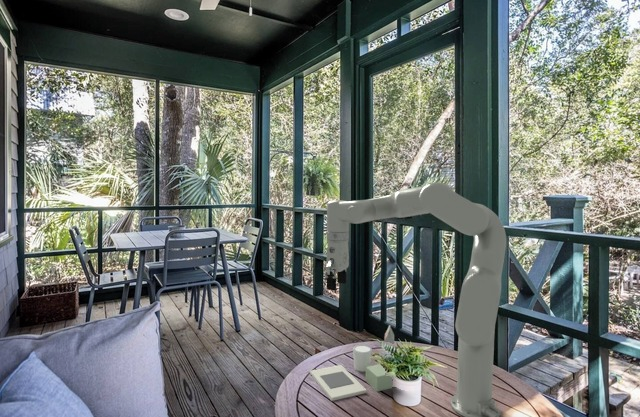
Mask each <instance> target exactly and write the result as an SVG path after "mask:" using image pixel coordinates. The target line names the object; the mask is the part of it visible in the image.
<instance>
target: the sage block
mask: <svg viewBox="0 0 640 417" xmlns="http://www.w3.org/2000/svg"><path fill="white" fill-rule="evenodd" d="M380 364H381V363H377V364H375V365H370V366H368V367H366V372H365V382H366V383H367V384H368V385H370V386H371V388H372V389H373V390H374V391H375V392H381V391H385V390H386V391H387V390H390V389H393V388H392V377H390V376H386V375H385V373H386V371H385V369H384V368H383V367H382V366H381V365H380Z"/></svg>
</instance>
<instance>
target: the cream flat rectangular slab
mask: <svg viewBox="0 0 640 417" xmlns="http://www.w3.org/2000/svg"><path fill="white" fill-rule="evenodd" d="M310 374H311V375H312V376H311V375H310ZM309 375H310V376H311V377H312V379H313V380H314V381H315V382H316V383H317V385H318V386H319V388H321V390H322V391H323V392H324V394H325V395H326V396H327V397H328V399H330V401H331V402H334V401H337V400H342V399H346V398H351V397H355V396H359V395H363V394H367V389H366V388H365V386H363V385H362V384H361V383H360V382H359V381H358V380H357V379H356V378H355V376H353V375H352V374H351V373H350V372H349V371H348V370H347V369H346V368H345V367H344V366H343V365H342V364H338V365H333V366H328V367H322V368H318V369H312V370H309Z"/></svg>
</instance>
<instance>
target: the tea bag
mask: <svg viewBox="0 0 640 417" xmlns="http://www.w3.org/2000/svg"><path fill="white" fill-rule="evenodd" d="M383 340H384V341H383V343H384V342H390V343H392V344H394V345H395V334H394V331H393V329H392V328H391V325H390V324H389V325H388V327H387V330H386V331H385V333H384V339H383Z"/></svg>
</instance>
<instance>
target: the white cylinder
mask: <svg viewBox="0 0 640 417" xmlns="http://www.w3.org/2000/svg"><path fill="white" fill-rule="evenodd" d="M372 354H373V348H372V347H370V346H368V345H365V344H357V345H355V346H353V348H352V355H353V357H352V358H353V367H354V370H356V371H357V372H361V373H362V372H365V373H366V367H368V366H372V365H371V364H372V363H371V362H372V357H373V356H372ZM370 357H371V358H370Z"/></svg>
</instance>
